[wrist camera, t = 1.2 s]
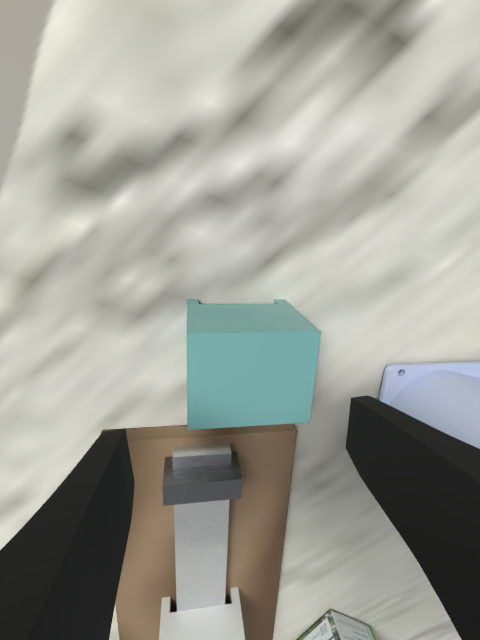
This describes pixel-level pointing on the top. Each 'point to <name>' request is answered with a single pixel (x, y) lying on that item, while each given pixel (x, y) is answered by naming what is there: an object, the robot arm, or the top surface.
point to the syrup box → (338, 629)
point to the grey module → (203, 621)
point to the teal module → (249, 365)
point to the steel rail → (201, 518)
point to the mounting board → (243, 528)
